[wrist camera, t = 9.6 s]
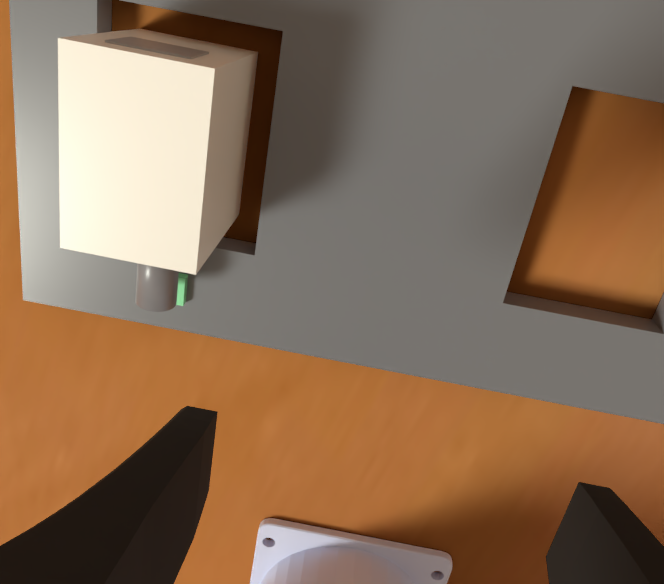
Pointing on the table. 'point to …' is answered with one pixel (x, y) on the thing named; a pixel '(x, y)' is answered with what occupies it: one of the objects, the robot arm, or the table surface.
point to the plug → (151, 150)
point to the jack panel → (381, 191)
